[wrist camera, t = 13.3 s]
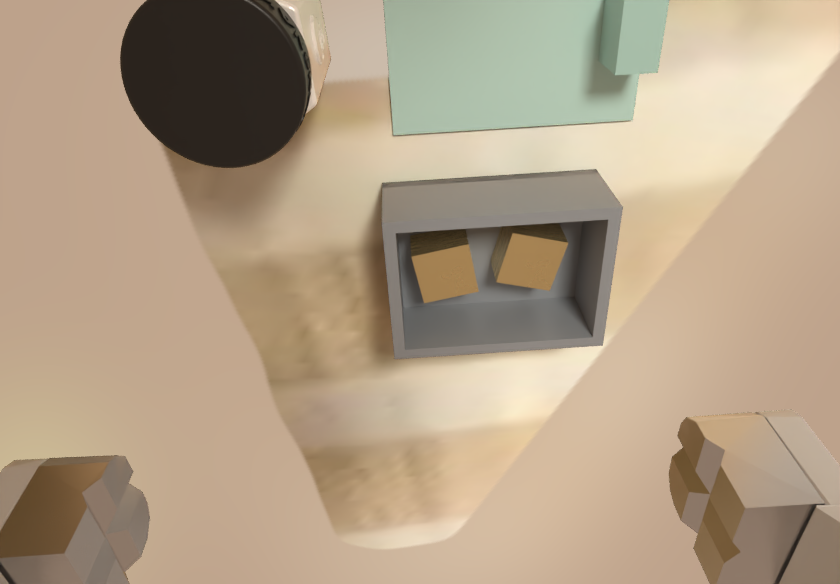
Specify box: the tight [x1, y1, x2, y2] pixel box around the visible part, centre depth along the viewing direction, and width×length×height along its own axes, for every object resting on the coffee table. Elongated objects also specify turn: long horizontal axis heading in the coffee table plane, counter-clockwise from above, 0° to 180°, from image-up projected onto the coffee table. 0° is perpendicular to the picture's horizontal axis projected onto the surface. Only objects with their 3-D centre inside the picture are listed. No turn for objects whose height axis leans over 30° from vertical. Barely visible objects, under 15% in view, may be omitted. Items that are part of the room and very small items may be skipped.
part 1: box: [410, 229, 479, 303], centre depth 45 cm, size 4×4×3 cm
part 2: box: [490, 223, 568, 291], centre depth 44 cm, size 4×4×3 cm
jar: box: [120, 0, 331, 168], centre depth 33 cm, size 9×8×12 cm
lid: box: [383, 0, 669, 135], centre depth 37 cm, size 12×16×4 cm
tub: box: [382, 169, 623, 359], centre depth 44 cm, size 11×15×6 cm
